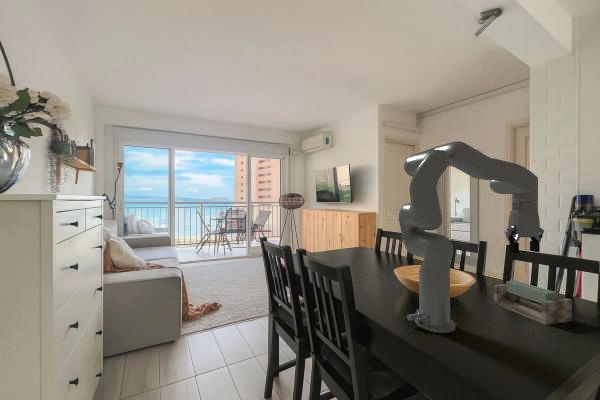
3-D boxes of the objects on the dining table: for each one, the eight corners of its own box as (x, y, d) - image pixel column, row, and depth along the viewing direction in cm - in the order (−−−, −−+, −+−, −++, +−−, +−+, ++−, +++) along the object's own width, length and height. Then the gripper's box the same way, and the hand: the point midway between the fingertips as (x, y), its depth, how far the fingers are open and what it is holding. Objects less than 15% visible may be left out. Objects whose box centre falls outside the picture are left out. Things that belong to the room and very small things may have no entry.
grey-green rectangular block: (506, 291, 106) (506, 281, 106) (515, 290, 108) (515, 280, 107) (545, 305, 93) (545, 293, 93) (556, 303, 94) (556, 292, 94)
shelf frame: (545, 324, 90) (545, 302, 90) (494, 303, 108) (494, 285, 108) (572, 320, 92) (572, 299, 92) (517, 300, 111) (517, 282, 111)
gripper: (532, 206, 106) (531, 249, 106) (496, 207, 102) (496, 251, 102) (553, 207, 98) (553, 253, 99) (516, 207, 95) (515, 255, 95)
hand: (524, 252), depth 100 cm, fingers open, 9 cm apart
